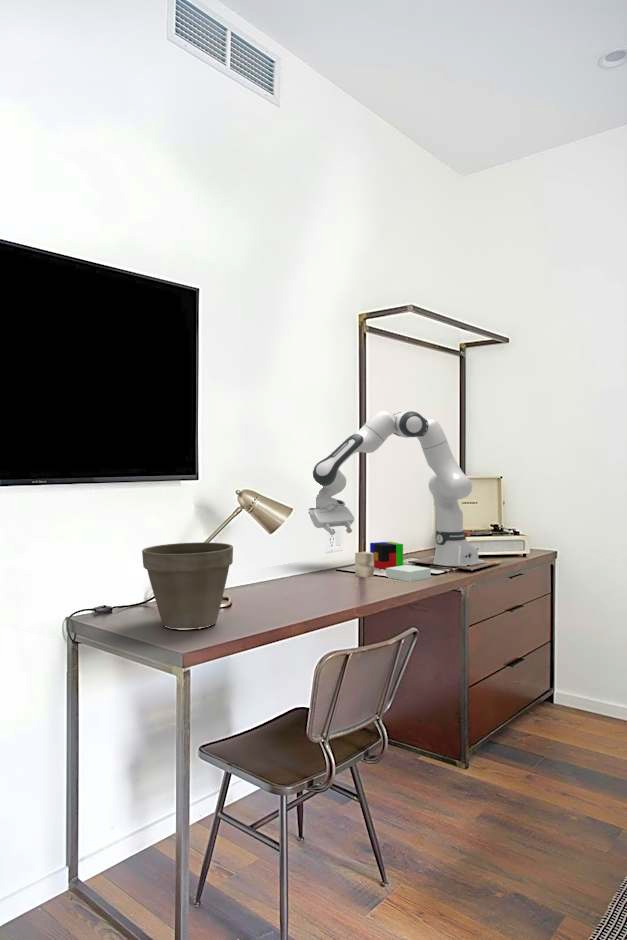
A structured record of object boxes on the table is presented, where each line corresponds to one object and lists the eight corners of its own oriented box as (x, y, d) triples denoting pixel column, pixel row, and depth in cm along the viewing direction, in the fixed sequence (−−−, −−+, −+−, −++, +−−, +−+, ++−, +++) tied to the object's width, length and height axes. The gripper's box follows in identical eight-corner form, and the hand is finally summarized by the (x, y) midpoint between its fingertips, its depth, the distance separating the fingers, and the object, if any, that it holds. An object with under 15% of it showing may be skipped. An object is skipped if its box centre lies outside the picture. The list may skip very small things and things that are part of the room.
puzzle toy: (370, 566, 289) (370, 542, 289) (390, 564, 293) (390, 541, 293) (382, 570, 280) (382, 545, 280) (403, 568, 284) (403, 544, 284)
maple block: (364, 574, 270) (364, 551, 269) (373, 576, 266) (373, 553, 266) (355, 575, 266) (355, 552, 266) (364, 577, 263) (364, 554, 262)
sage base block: (406, 574, 271) (406, 564, 271) (430, 578, 262) (430, 568, 262) (386, 578, 263) (386, 568, 263) (410, 582, 254) (410, 572, 254)
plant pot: (123, 627, 187) (122, 548, 187) (188, 610, 208) (187, 539, 207) (189, 641, 173) (188, 555, 173) (251, 621, 194) (251, 545, 193)
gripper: (310, 503, 274) (326, 529, 266) (346, 501, 287) (363, 526, 280) (302, 513, 277) (318, 540, 270) (339, 511, 291) (355, 536, 283)
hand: (341, 533), depth 275 cm, fingers open, 8 cm apart
